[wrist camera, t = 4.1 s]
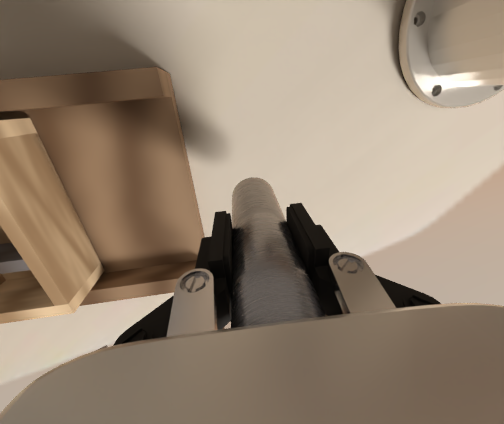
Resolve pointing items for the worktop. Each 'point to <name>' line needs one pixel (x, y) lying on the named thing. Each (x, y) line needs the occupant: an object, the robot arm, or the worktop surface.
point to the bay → (118, 171)
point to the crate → (38, 233)
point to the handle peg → (266, 262)
